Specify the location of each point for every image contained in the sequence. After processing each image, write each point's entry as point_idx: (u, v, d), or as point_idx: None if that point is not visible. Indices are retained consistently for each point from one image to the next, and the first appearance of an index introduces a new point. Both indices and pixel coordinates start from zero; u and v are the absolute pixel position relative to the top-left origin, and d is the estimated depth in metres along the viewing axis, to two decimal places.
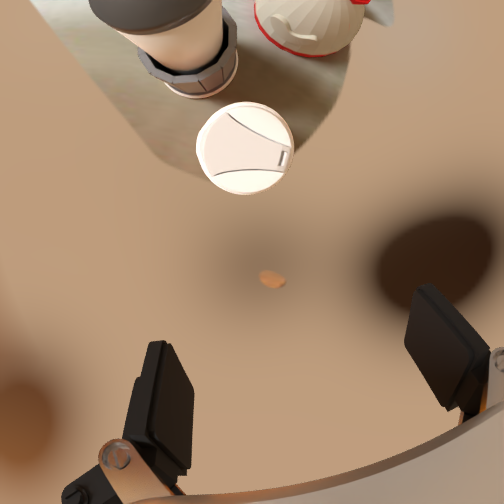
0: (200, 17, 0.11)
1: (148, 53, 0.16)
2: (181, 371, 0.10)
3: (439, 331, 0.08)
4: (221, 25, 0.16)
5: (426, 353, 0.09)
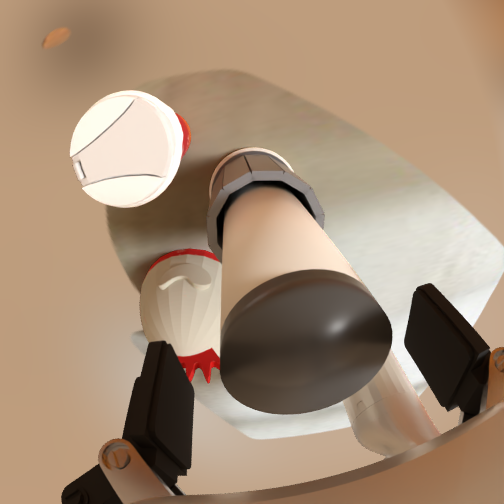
0: (222, 318, 0.11)
1: (287, 210, 0.15)
2: (181, 371, 0.10)
3: (439, 331, 0.08)
4: None
5: (426, 353, 0.09)
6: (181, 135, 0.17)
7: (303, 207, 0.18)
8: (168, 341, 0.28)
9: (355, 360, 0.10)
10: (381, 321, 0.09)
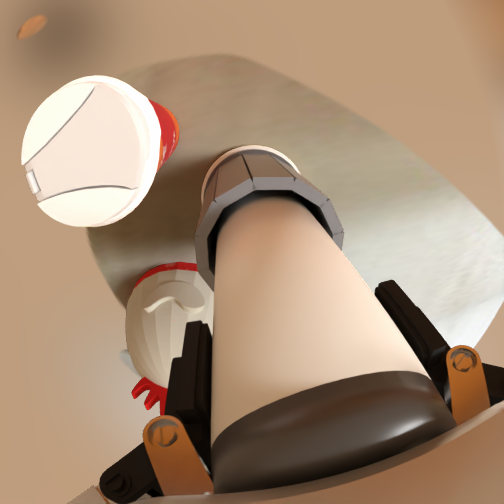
0: (212, 424, 0.06)
1: (305, 239, 0.11)
2: None
3: (397, 327, 0.09)
4: None
5: None
6: (158, 131, 0.13)
7: (322, 228, 0.14)
8: (156, 372, 0.23)
9: None
10: None
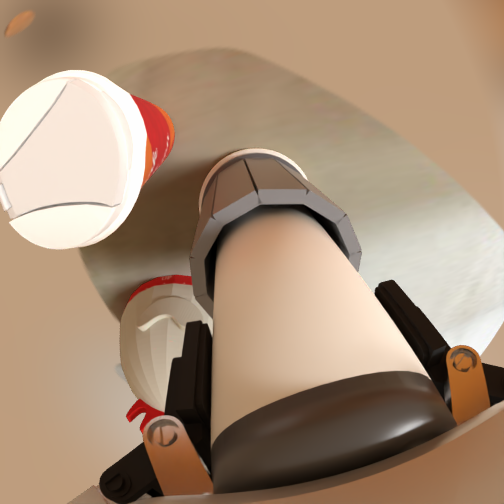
0: (212, 424, 0.06)
1: (305, 239, 0.11)
2: None
3: (397, 327, 0.09)
4: None
5: None
6: (143, 135, 0.10)
7: (322, 228, 0.14)
8: (152, 396, 0.21)
9: None
10: None
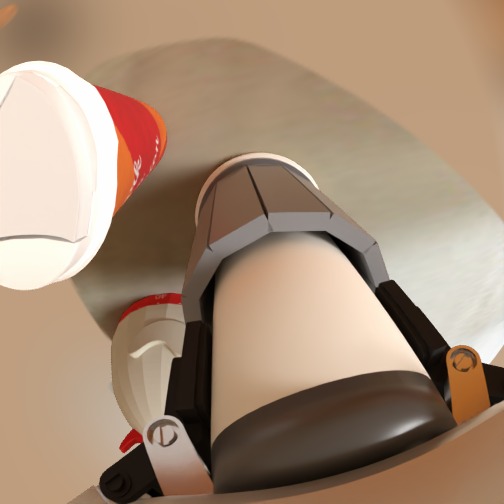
0: (212, 424, 0.06)
1: (305, 239, 0.11)
2: None
3: (397, 327, 0.09)
4: None
5: None
6: (114, 143, 0.07)
7: None
8: None
9: None
10: (448, 430, 0.05)
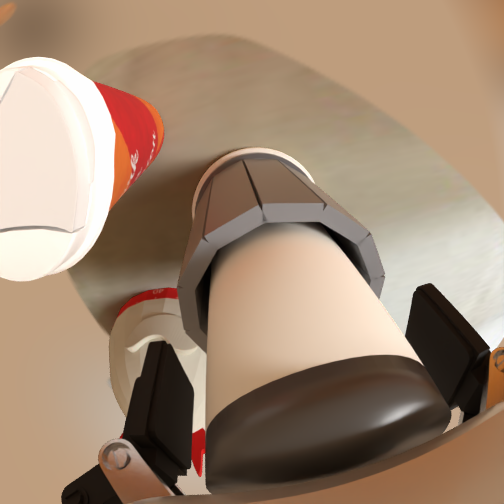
0: (206, 410, 0.07)
1: (299, 229, 0.11)
2: (181, 371, 0.10)
3: (439, 331, 0.08)
4: None
5: (426, 353, 0.09)
6: (111, 135, 0.07)
7: None
8: None
9: None
10: (442, 418, 0.05)
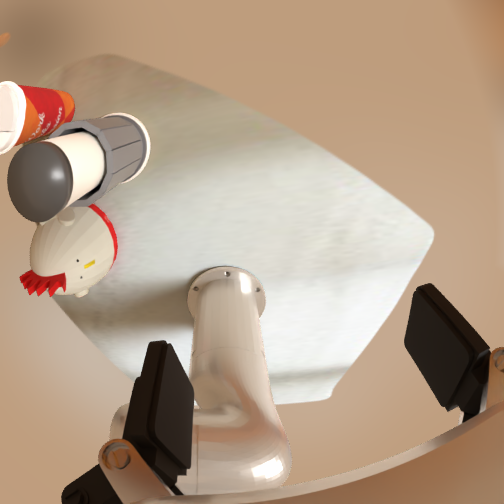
0: None
1: (79, 132, 0.23)
2: (181, 371, 0.10)
3: (439, 331, 0.08)
4: None
5: (426, 353, 0.09)
6: (25, 105, 0.19)
7: None
8: (35, 263, 0.30)
9: (49, 182, 0.17)
10: (53, 158, 0.17)
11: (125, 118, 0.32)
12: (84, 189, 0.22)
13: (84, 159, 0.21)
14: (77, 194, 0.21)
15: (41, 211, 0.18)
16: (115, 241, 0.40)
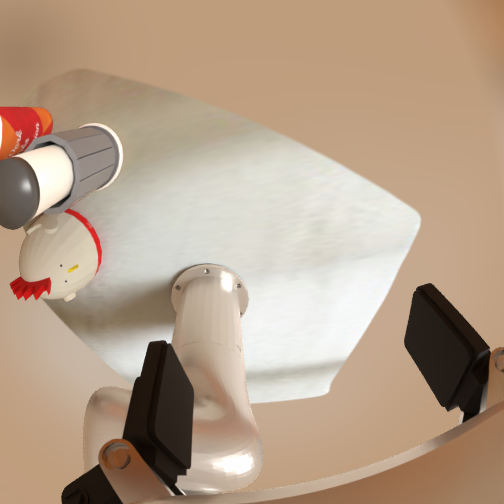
0: None
1: (49, 145, 0.24)
2: (181, 371, 0.10)
3: (439, 331, 0.08)
4: None
5: (426, 353, 0.09)
6: (1, 125, 0.20)
7: None
8: (23, 270, 0.31)
9: (19, 193, 0.18)
10: (20, 171, 0.17)
11: (97, 128, 0.32)
12: (53, 197, 0.23)
13: (50, 169, 0.21)
14: (46, 202, 0.21)
15: (15, 219, 0.19)
16: (98, 246, 0.41)
